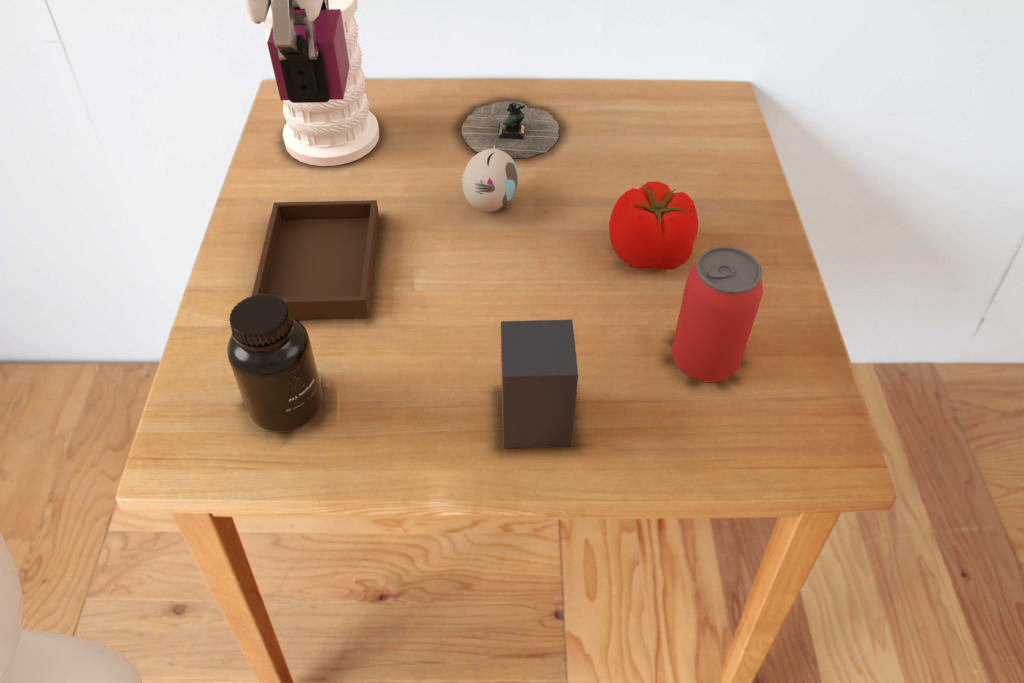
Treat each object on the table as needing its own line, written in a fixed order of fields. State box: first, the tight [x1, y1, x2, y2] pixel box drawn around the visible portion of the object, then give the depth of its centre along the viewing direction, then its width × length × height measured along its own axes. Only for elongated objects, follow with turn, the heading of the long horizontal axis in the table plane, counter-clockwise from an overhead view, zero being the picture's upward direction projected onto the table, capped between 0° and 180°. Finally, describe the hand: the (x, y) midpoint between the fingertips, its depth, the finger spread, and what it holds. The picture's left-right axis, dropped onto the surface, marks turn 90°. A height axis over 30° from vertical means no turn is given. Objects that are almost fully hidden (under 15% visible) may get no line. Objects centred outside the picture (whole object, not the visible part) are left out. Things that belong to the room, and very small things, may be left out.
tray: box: [251, 199, 380, 321], centre depth 89 cm, size 15×11×3 cm
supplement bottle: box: [226, 294, 324, 433], centre depth 73 cm, size 7×7×12 cm
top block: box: [266, 9, 350, 101], centre depth 67 cm, size 5×5×5 cm
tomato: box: [608, 180, 699, 271], centre depth 88 cm, size 9×9×8 cm
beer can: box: [671, 246, 764, 383], centre depth 77 cm, size 7×7×12 cm
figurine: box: [461, 145, 519, 213], centre depth 94 cm, size 8×6×7 cm
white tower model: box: [261, 0, 380, 167], centre depth 98 cm, size 12×12×18 cm
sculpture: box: [461, 100, 560, 159], centre depth 106 cm, size 12×9×8 cm
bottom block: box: [500, 319, 579, 449], centre depth 73 cm, size 6×6×10 cm
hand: (314, 78), depth 69 cm, fingers closed on top block, 5 cm apart
